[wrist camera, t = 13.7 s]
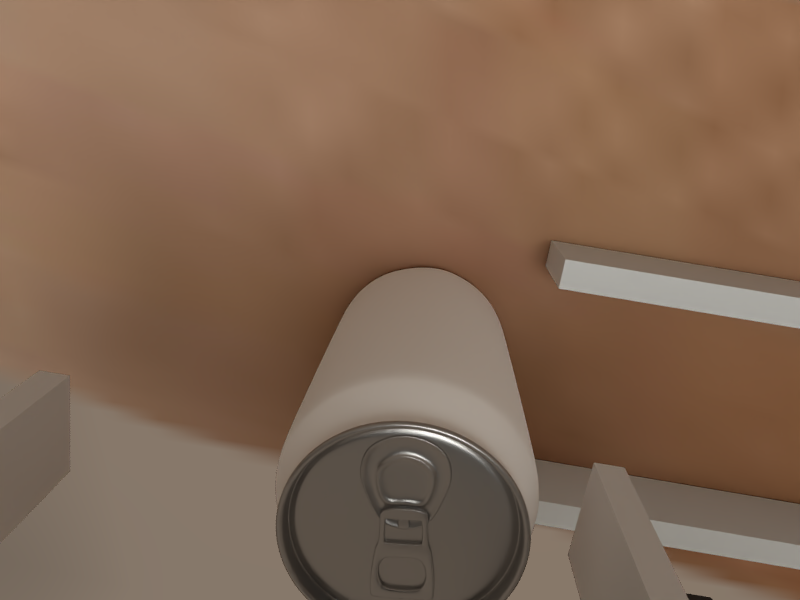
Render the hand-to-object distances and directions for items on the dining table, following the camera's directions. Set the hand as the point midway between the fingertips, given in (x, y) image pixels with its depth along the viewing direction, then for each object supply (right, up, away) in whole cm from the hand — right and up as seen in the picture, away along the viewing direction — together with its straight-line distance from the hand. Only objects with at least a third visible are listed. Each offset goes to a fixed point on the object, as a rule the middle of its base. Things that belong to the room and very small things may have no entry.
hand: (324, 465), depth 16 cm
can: (+3, +2, +10) cm, 10 cm away
